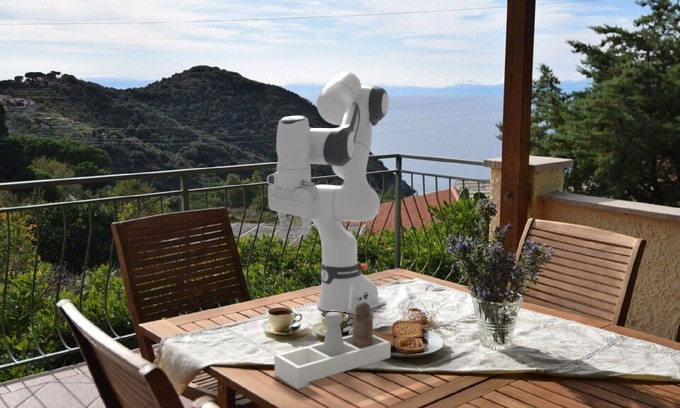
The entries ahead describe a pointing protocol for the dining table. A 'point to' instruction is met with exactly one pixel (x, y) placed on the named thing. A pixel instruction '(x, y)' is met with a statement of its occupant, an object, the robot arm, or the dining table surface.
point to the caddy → (326, 361)
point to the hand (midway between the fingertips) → (294, 231)
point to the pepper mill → (362, 326)
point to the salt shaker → (333, 335)
